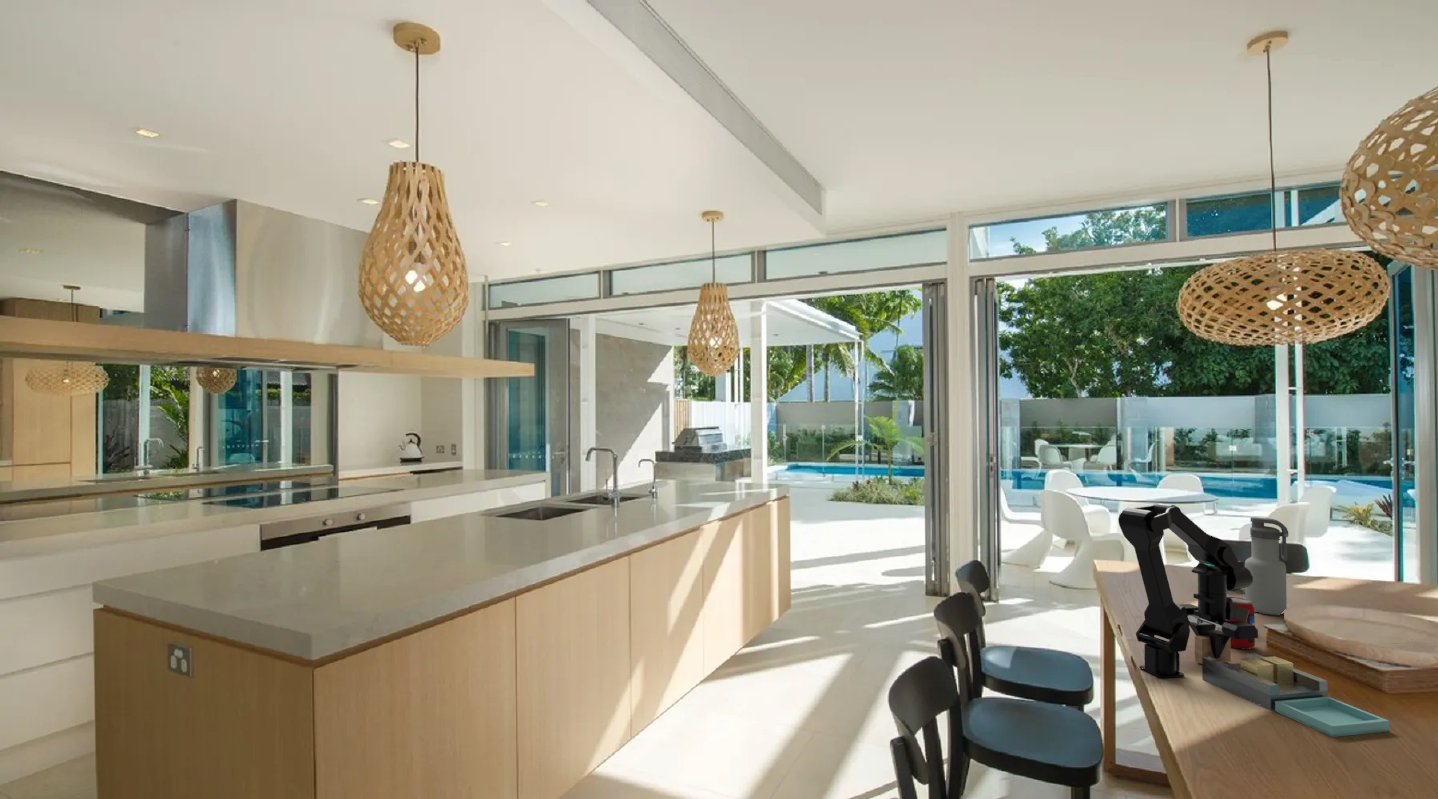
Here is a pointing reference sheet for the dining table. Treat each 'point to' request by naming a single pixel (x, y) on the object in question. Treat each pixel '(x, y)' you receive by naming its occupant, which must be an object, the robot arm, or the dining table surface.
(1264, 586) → the water bottle
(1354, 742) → the dining table surface
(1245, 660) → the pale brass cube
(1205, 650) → the wooden block
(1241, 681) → the slot block
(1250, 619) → the beverage can
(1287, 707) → the tray
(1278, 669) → the yellow cube
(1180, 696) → the dining table surface
